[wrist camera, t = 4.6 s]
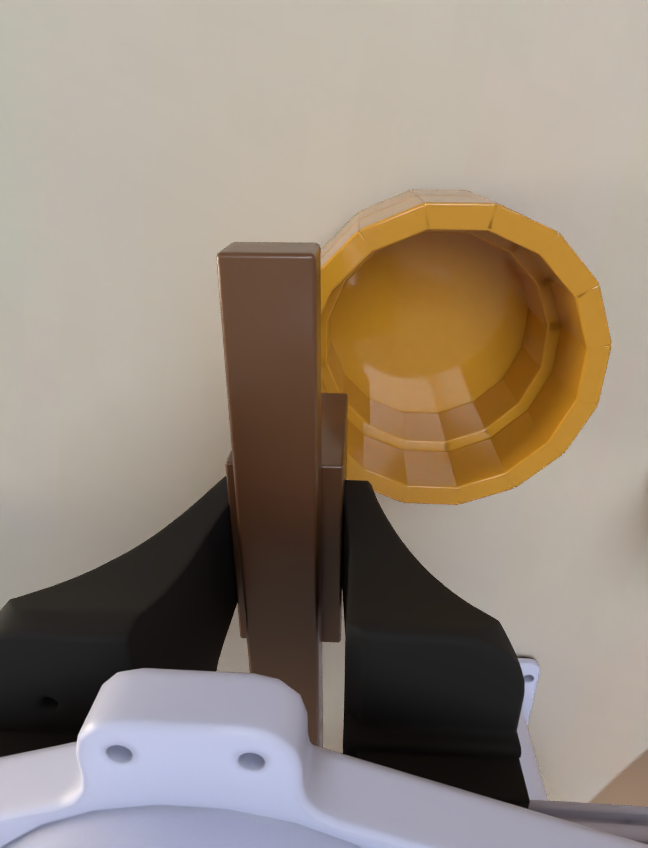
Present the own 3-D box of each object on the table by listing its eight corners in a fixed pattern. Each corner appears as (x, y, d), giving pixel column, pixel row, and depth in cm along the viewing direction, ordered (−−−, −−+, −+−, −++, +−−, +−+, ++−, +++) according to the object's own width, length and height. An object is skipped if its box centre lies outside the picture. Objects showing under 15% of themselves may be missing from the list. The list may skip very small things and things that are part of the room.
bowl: (531, 434, 24) (574, 510, 19) (304, 427, 24) (289, 499, 20) (575, 190, 20) (644, 204, 15) (302, 187, 20) (282, 200, 15)
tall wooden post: (343, 650, 20) (337, 806, 15) (270, 646, 20) (242, 800, 15) (351, 216, 14) (343, 254, 9) (246, 216, 14) (186, 252, 9)
